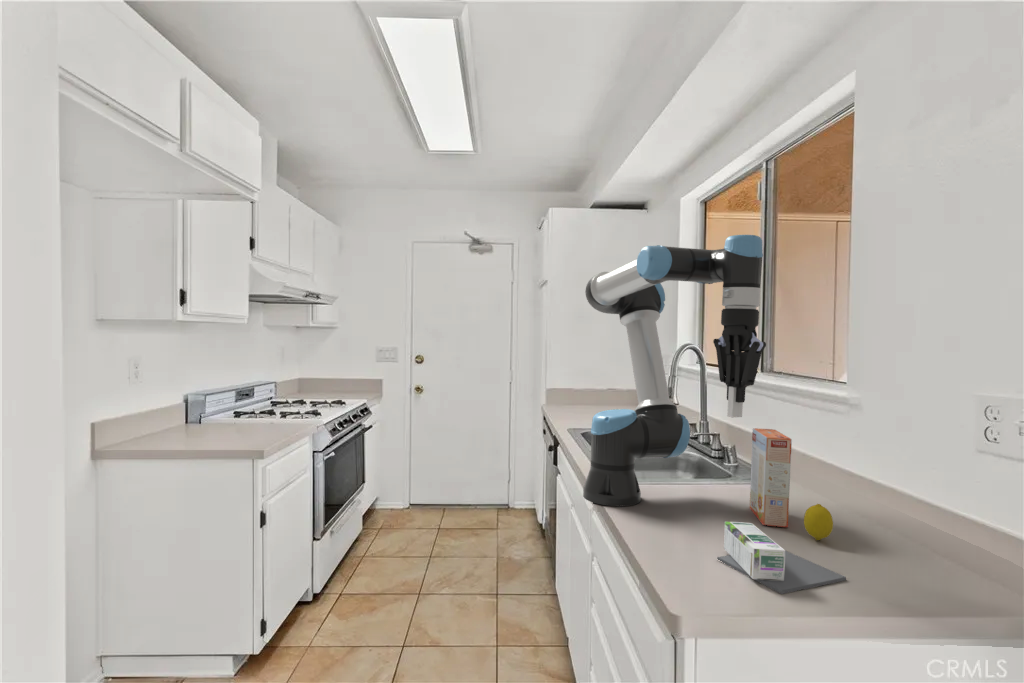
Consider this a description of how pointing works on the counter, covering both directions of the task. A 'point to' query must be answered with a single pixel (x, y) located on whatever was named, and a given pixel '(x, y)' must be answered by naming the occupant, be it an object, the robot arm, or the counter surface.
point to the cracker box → (770, 477)
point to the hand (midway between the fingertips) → (734, 416)
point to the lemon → (818, 522)
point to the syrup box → (754, 551)
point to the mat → (794, 574)
